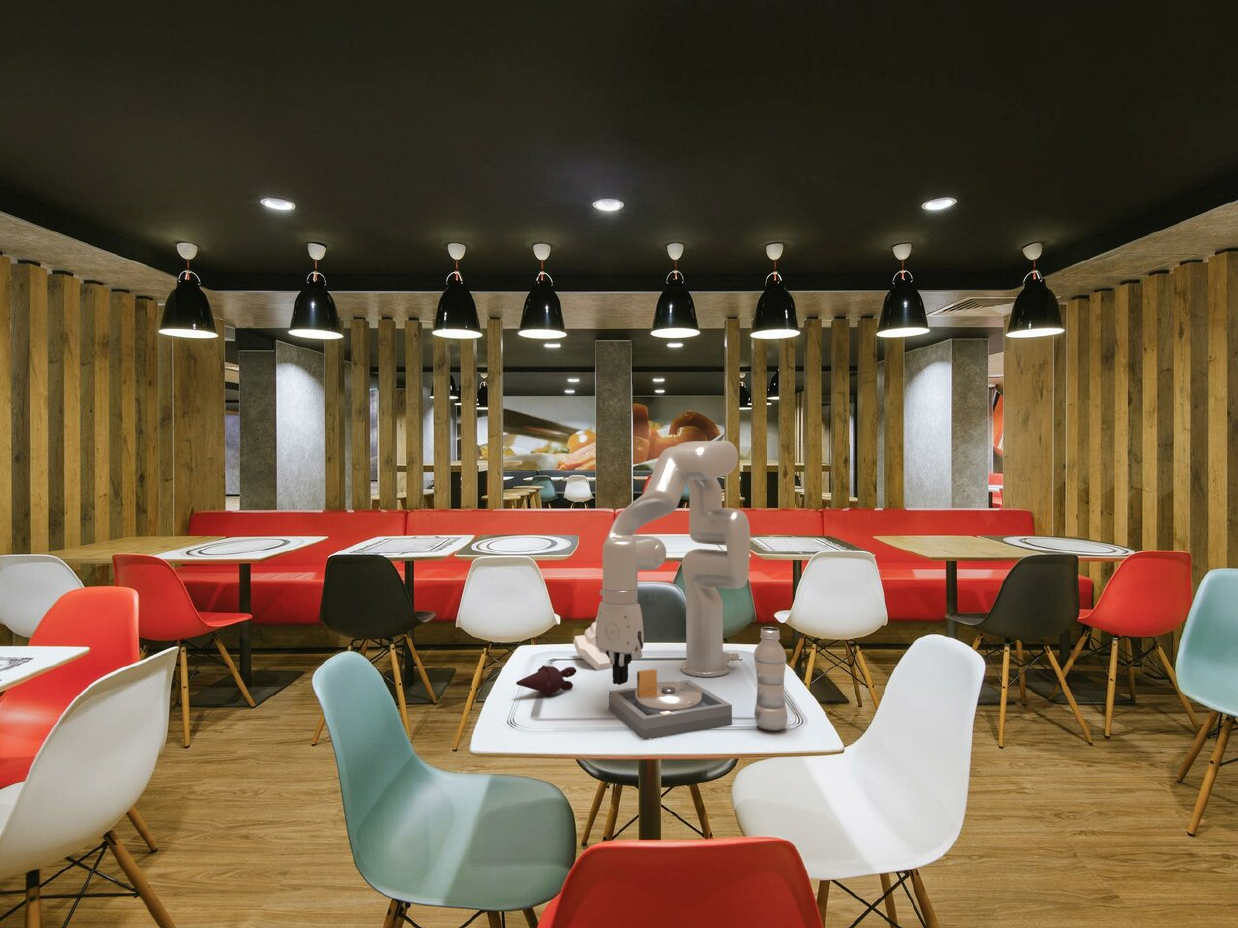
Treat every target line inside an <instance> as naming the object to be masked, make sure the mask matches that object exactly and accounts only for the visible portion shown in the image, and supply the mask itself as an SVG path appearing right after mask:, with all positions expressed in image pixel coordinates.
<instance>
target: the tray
mask: <svg viewBox="0 0 1238 928" xmlns="http://www.w3.org/2000/svg"><path fill="white" fill-rule="evenodd" d="M678 682H680V683H686V684H690V685H693V686H695V687H697V688H699V689H700V690H701V692H702V707H698V708H692V709H686V710H680V711H673V712H670V711H664V712H660V714H655V715H646V714H644V713H643V712H642V711H640V710H639V709H638V708H636V707H635V691H636V689H637V687H631V688H625V689H618V690H610V691H608V711H610V713H612V714H613V715H614V717H616V718H618V719H619V720H620V721H621V722H622V723H623V724H624V725H626V726H627V727H628V728H629V729H630V730H632V731H633V733H635V734H636V735H637V736H639V737H640V738H641V737H642V738H643V739H646V740H650V739H649V738H652V739H656V738H657V737H658V738H662V737H668V736H673V735H675V736H676V735H680V734H685V733H691V732H697V731H702V730H708V729H713V728H719V727H725V726H731V725H733V705H732V704H731V703H730V702H727V701H726V700H724V699H722V698H721V697H719V696H717V694H716V695H715V694H714V693H712V692H710V691H709V690H707V689H705V688H704V687H702V686H700V685H698V684H697V683H695V682H694V681H692V680H689V679H687V680H681V681H678ZM642 738H641V739H642ZM658 738H657V739H658ZM643 739H642V740H643Z"/></svg>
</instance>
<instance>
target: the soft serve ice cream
mask: <svg viewBox="0 0 1238 928" xmlns="http://www.w3.org/2000/svg"><path fill="white" fill-rule="evenodd" d="M596 621H597V616H596V618H595V621H593V622H592V623H591V625H590V626H589V627H588V628H587V629H585V631H584V635H583V634H582V635H575V636H574V639H573V645H574V648H575V651H576V654H577V655H578V656H579V657H580V658H582V659H583V660H584V661H585V662H586V663H587V664H588V665H590V666H591V667H592V669H593V668H594V669H595V670H596V671H604V670H608V669H609V670H610V669H613V665H612V664H611V663H610V659H609V658H608V656H607V655H606V654H604V653H602V652H600V650H599V648H598V647H597V646H596V639H595V638H596Z"/></svg>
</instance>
